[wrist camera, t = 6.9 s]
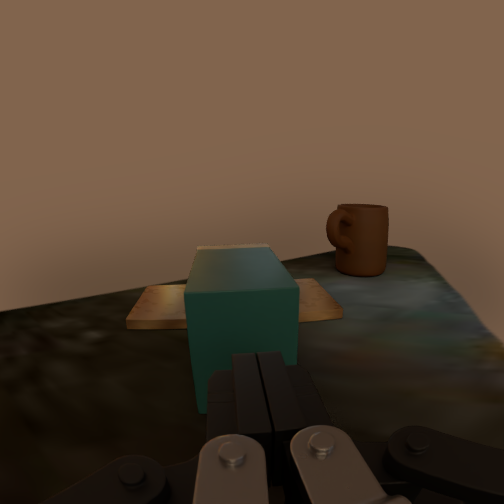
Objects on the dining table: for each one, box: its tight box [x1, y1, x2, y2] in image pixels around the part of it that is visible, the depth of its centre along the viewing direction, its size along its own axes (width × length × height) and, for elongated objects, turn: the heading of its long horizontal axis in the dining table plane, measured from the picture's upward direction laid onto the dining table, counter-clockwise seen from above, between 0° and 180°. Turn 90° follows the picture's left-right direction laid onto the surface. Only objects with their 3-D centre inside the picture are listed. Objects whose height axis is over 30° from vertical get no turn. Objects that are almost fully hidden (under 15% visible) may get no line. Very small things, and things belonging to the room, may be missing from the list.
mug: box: [326, 204, 389, 277], centre depth 42 cm, size 12×8×9 cm, turn 130°
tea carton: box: [184, 243, 300, 414], centre depth 21 cm, size 6×11×8 cm, turn 6°
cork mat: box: [126, 278, 343, 329], centre depth 32 cm, size 20×10×1 cm, turn 96°
